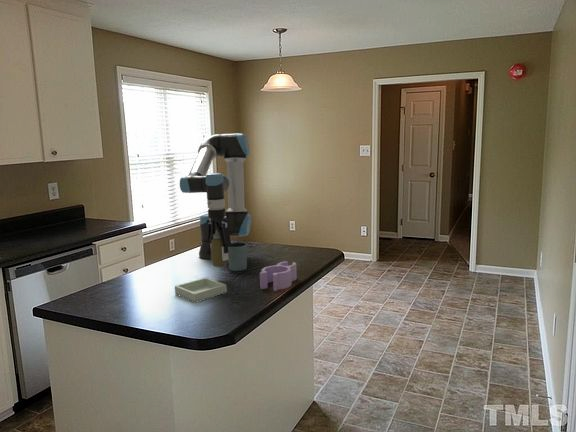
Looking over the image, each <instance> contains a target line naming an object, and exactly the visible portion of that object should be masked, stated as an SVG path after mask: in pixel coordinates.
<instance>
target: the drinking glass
mask: <svg viewBox="0 0 576 432" xmlns="http://www.w3.org/2000/svg"><path fill="white" fill-rule="evenodd" d="M228 256H229V258H228V259H229V260H228V262H227V265H228V268H229V269H228V270H230V271H233V272H238V271H239V272H240V271H245V270H247V268H248V243H247V242H244V241H234V242H231V245H228Z"/></svg>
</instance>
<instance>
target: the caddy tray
mask: <svg viewBox="0 0 576 432" xmlns="http://www.w3.org/2000/svg"><path fill="white" fill-rule="evenodd" d="M226 292H227V293H228V290H227V284H225V283H222V282H221V281H220V282H219V281H217V280H214V279H211V278H208V277H203V278H199V279H196V280H191V281H188V282H185V283H181V284H178V285H174V294H175V295H176V294H177V296H178V295H180V296H182V297H181V298H183V297H184V298H183V299H185V298H187V299H189V300H191V301H190V302H192V301H193V302H192V303H194V302H196V303H198V302H197V301H199V302H201V301H200V300H203V299H206V300H208V299H207V298H209V299H211V298H210V297H212V298H214V297H213V296H216V295H219V296H221V295H220V294H222V295H224V294H223V293H225V294H227V293H226ZM180 296H179V297H180ZM216 297H217V296H216ZM187 299H186V300H187ZM189 300H188V301H189ZM203 301H204V300H203Z"/></svg>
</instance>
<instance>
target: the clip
mask: <svg viewBox="0 0 576 432" xmlns="http://www.w3.org/2000/svg"><path fill="white" fill-rule="evenodd" d="M288 263H289V262H288V261H281V262H278V263H276V264H275V265H268V266H265V267H262V268H261V271H260V272H259V289H260V290H265V289H268V286H269V285H268V284H269V283H272V282H273V283H272V287H273V292H277V291H278V290H283V289H288V288H290V287H291V286H292V283H293V282H294V281H296V280H297V263H296V262H294V261H293V262H292V263H291V264H290V265H289V264H288Z"/></svg>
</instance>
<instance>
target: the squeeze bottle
mask: <svg viewBox="0 0 576 432" xmlns="http://www.w3.org/2000/svg"><path fill="white" fill-rule="evenodd" d="M213 238H214V239H212V240H211V259H210V261H211V262H212V265H213V266H214V267H217V268H218V267H219V268H221V267H226V266H227V265H228V260H225V261H223V260H222V241H221V238H220V235H219V232H218V231H217V229H216V232H215V234H213ZM228 258H229V256H228Z"/></svg>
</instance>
